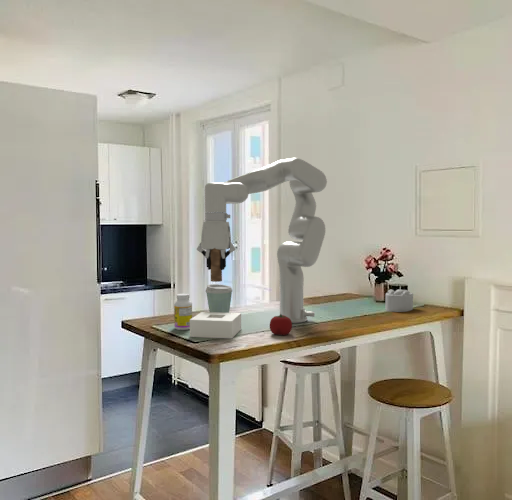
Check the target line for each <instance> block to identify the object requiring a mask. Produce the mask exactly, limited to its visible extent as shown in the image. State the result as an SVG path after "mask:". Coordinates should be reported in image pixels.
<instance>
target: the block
mask: <svg viewBox="0 0 512 500" xmlns="http://www.w3.org/2000/svg"><path fill="white" fill-rule="evenodd" d="M240 331H242V312H229V313H222V312H209V311H201V312H199V313H198V314H196V315H195V316H194V317H193V316H192V319H190V329H189V338H212V339H213V338H214V339H233V338H234V337H235V336H237V334H238V333H240Z"/></svg>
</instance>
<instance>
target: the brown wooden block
mask: <svg viewBox="0 0 512 500" xmlns="http://www.w3.org/2000/svg"><path fill="white" fill-rule="evenodd" d="M221 257H222V255H221V250H218V249H216V248H214V249H212V250H210V261H211V269H210V282H215V283H216V282H217V283H218V282H223V270H221V262H220V259H221Z"/></svg>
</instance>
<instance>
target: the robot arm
mask: <svg viewBox="0 0 512 500" xmlns="http://www.w3.org/2000/svg"><path fill="white" fill-rule="evenodd" d="M327 180H328V179H327V176H326V175H325V173H324V172H323V171H322V170H320V169H319V168H318V167H316V166H314V165H312V164H311V163H309V162H308V161H306V160H304V159H302V158H298V157H291V158H285V159H279V160H277V161H275V162H272V163H271V164H270V163H269V164H267V165H266V166H265V165H264V166H263V167H261V168H258V169H255V170H253V171H250V172H247V173H245V174H242V175H238V176H236V177H233V178H231V179H227V180H226V181H224V182H207V183H206V184H205V185H204V218H205V219H204V221H203V222H202V228H201V238H200V239H201V241H200V242H199V244H198V246H197V248H196V250H197V251H198V252H199V253H201V254H202V255H203V256H204V258H205V259H206V267H207V270H208V271H209V270H210V271H211V261H210V250H212V249H214V248H216V249H218V250H221V255H222V257H221V259H220V262H221V270H222V271H224V270H225V268H226V267H227V259H228V258H227V257H229V256H230V254H232V253H234V252H235V251H236V247H235V246H234V244H233V243H232V234H231V227H230V222H229V221H227V220H228V219H231V214H228V213H227V205H231V204H232V205H234V204H235V205H236V204H242V203H244V202H245V201H246V200H247V199H248V197H249V195H250V194H251V195H252V194H258V193H263V192H266V191H268V190H271V189H272V188H275V187H277V186H279V185H281V184H284V183H285V182H286V183H287V182H289V187H290V190H291V191H292V193H293V196H294V200H295V205H294V210H293V213H292V214H291V215H292V216H291V218H290V221H289V225H288V229H287V230H288V232H287V233H288V235H289V237H290V238H292V239H295V240H297V241H292V240H291V241H285V242H283V243H281V244H280V245H279V246H278V249H277V253H276V255H277V256H276V257H277V263H278V266H279V267H278V269H279V315H280V314H282V315H284V316H286V317H288V318H290V320H291V321H292V324H296V323H297V324H298V323H305V322H307V321H308V317H312V318H313V317H315V311H311V310H310V311H307V310H305V309H306V308H305V307H304V278H305V277H304V273H303V268H306V267H307V268H309V267H312V266H313V265H315V264H316V262H317V261H318V258H319V256H320V252H321V248H322V245H323V243H324V239H325V236H326V224H325V222H324V220H323V219H322V218H321V217H320V216H315V214H316V210H317V203H316V199H315V197H314V194H313V193H320V192H322V191H323V190H325V188H326V186H327V183H328V181H327ZM298 240H299V241H298ZM302 267H303V268H302Z"/></svg>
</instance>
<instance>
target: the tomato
mask: <svg viewBox="0 0 512 500" xmlns="http://www.w3.org/2000/svg"><path fill="white" fill-rule="evenodd" d="M292 329H293V323H292V321H291V320H290V318H288V317H286V316H284V315H282V314H280V313H279V315H275V316H273V317H271V319H270V321H269V330H270V332H271V333H272V334H274V335H277V336H287V335H288V334H290V333H291V331H292Z"/></svg>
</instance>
